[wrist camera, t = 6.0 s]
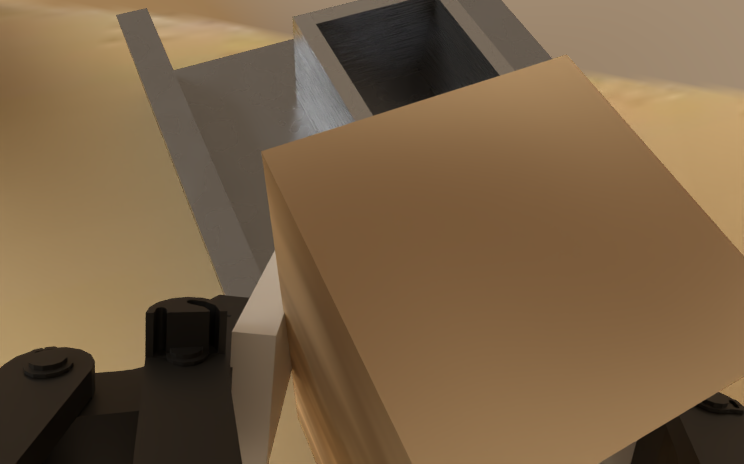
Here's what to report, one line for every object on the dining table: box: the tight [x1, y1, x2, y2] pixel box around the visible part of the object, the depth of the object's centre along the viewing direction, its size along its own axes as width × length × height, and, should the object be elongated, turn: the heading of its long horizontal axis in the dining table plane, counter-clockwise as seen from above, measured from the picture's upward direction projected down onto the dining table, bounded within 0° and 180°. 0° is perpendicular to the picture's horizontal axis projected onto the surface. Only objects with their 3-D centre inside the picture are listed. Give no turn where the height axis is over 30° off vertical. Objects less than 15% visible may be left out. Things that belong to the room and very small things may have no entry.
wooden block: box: [261, 55, 744, 464], centre depth 13 cm, size 4×4×15 cm
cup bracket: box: [116, 0, 552, 298], centre depth 27 cm, size 16×22×6 cm
